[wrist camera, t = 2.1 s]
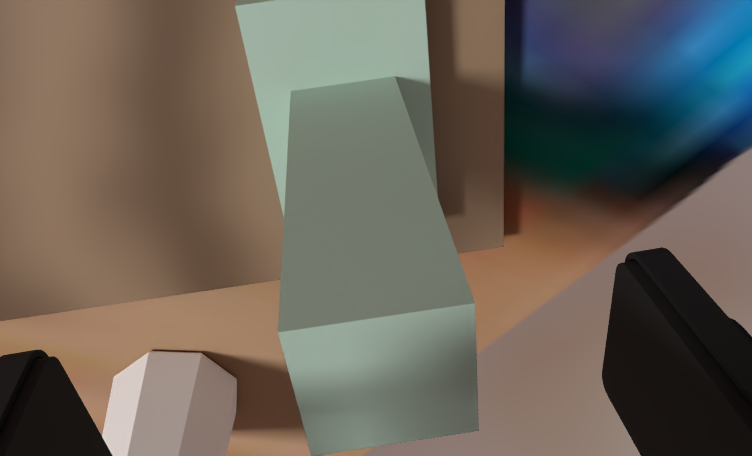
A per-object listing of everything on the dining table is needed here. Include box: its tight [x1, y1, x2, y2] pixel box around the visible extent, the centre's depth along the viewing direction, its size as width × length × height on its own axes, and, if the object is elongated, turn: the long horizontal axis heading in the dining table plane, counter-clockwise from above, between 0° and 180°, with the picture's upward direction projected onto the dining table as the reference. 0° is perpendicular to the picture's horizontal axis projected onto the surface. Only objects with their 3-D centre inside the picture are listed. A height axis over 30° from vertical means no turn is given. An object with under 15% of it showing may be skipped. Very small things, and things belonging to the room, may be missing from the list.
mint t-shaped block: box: [235, 0, 479, 456], centre depth 15 cm, size 5×8×11 cm, turn 6°
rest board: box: [0, 0, 505, 321], centre depth 20 cm, size 20×12×1 cm, turn 96°
